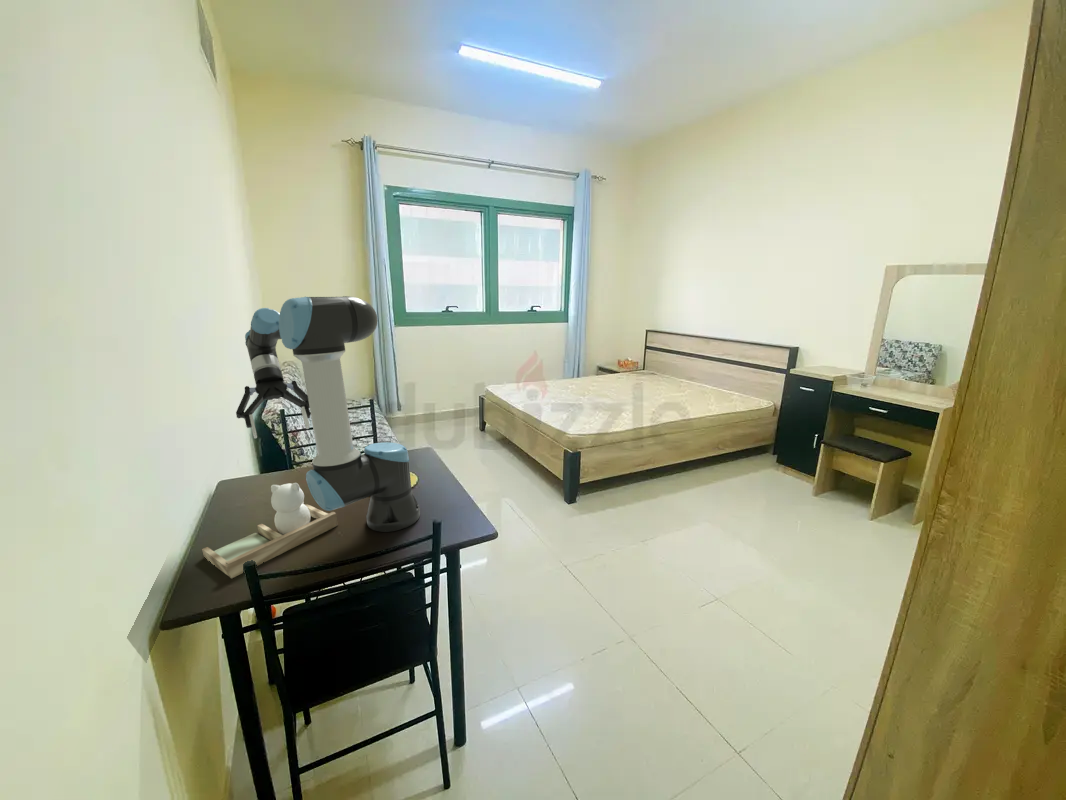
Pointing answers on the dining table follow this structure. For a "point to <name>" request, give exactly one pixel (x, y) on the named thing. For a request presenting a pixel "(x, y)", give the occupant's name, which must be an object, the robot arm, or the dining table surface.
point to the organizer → (267, 543)
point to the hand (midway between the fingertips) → (282, 431)
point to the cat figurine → (289, 507)
